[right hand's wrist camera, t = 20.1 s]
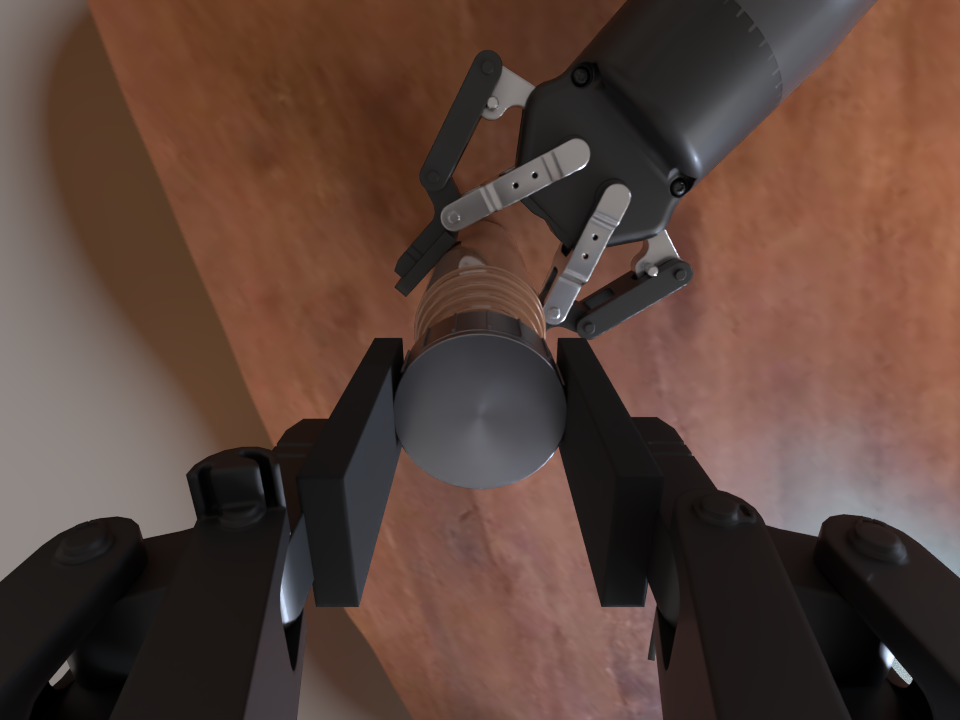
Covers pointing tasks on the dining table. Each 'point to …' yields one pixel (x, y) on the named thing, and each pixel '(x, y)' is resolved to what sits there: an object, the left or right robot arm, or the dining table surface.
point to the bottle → (481, 281)
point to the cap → (480, 401)
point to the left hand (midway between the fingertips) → (445, 324)
